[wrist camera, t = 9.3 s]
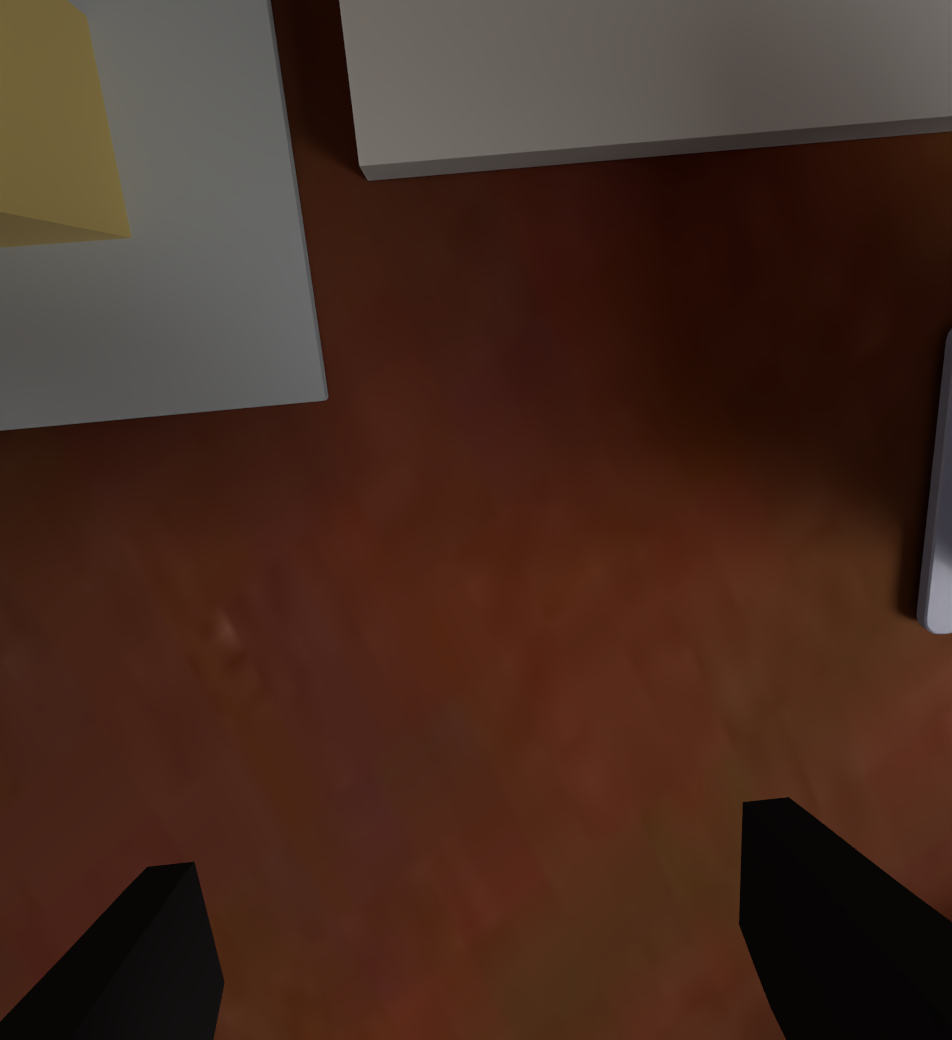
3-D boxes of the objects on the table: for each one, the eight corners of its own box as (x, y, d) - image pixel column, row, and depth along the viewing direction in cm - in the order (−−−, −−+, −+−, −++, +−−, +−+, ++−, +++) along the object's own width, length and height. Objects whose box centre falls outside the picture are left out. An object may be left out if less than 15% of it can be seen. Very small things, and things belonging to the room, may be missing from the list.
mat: (242, -193, 13) (235, -210, 13) (328, 397, 17) (325, 400, 16) (-361, -150, 13) (-392, -166, 13) (-153, 442, 16) (-171, 446, 16)
